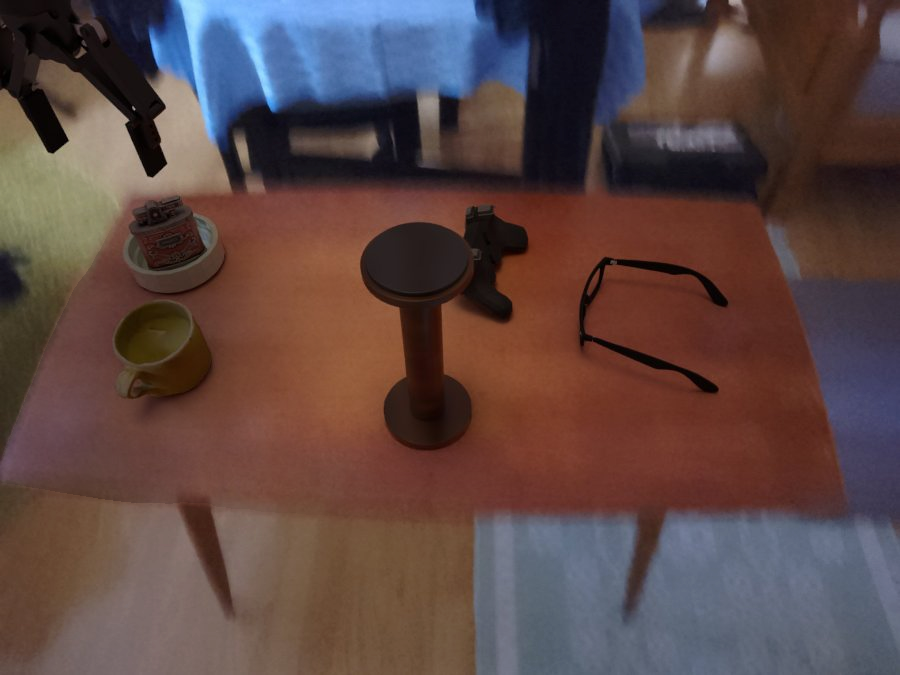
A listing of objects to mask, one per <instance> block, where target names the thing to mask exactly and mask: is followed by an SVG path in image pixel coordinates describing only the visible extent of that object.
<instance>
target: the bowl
mask: <svg viewBox="0 0 900 675" xmlns="http://www.w3.org/2000/svg"><path fill="white" fill-rule="evenodd" d="M193 218H194V221H195V223H196V226H197V229H198V231H199V234H200V236H201V239H202V241H203V244H205V246H206V248H207V251H206V252H205V253H204V254H203V255H202V256H201V257H200V258H198V259H197V260H196V261H194V262H192V263H190V264H188V265H186V266H184V267H180V268H177V269H173V270H168V271H152V270H149V268H148V266H147V261H146V259H145V257H144V255H143V253H142V251H141V249H140V247H139V245H138V243H137V241H136V239H135V237H134V236H133V235H132V234H131V233H130V234H129V235H128V237H127V238H126V239H125V241H124V244H123V246H122V256H123V261H124V263H125V264H126V267H127V268H128V270H129V272H130V274H131V276H132V278H133V279H134V281H136V283H137V285H139V286H140V287H141V288H144V289H146V290H147V291H150V292H155V293H161V294H173V293H179V292H180V293H181V292H185V291H188V290H191V289H195V288H196V287H198V286H200V285H203V284H204V283H206V282H207V281H208V280H209V279H211V278H212V277H213V276H214V275H215V274H216V273H218V271H219V269H220V267H221V266H222V265H223V263H224V260H225V254H226V253H225V252H226V251H225V247H224V245H223V242H222V238H221V236H220V234H219V231H218V228H217V225H216V224H215V223H214V222H213V221H212V220H211V219H210V218H209V217H206V216H205V215H202V214H199V213H196V212H193Z"/></svg>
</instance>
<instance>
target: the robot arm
mask: <svg viewBox="0 0 900 675" xmlns="http://www.w3.org/2000/svg"><path fill="white" fill-rule="evenodd" d="M82 49H83V50H84V51H85V53H83V54H81V51H82ZM80 54H81V55H80ZM79 55H80V56H79ZM78 56H79V57H78ZM41 60H42V61H53V62H55V63H58V64H61V65H65V66H66V67H67V68H68V69H69V70H70V71H71V72H73V73H79V74H81V76H83V78H84V79H86V80H87V81H88V82H89V83H90V84H91V85H92V86H93V87H94V88H95V89H96V90H97V91H98V92H99V93H100V94H101V95H102V96H103V97H104V98H106V100H108V101H109V102H110V103H111V105H113V107H115V108H116V109H117V110H118V111H119V113H121V114H122V115H123V116H124V117H125V119H127V120H128V121H126V122H125V123H124V126H125V128H126V131H127V133H128V136H129V137H130V138H129V139H130V140H131V142H132V145H133V147H134V149H135V152H136V154H137V156H138V158H139V161H140V163H141V166H142V168H143V170H144V172H145V175H146V177H147V178H152V179H153V178H155V177H156V176H157V175H158V174H159V173H160V172H161V171H162V170H163V169H164V168H165V167H166V166H167V165H168V161H167V158H166V156H165V153H164V151H163V149H162V146H161V144H162V137H161V135H160V132H159V129H158V127H157V124H156V122H155V120H156V118H158V117H159V116H160V115H161V114H163V112H164V111H165V110H166V108H167V106H166V104H165V102H164V101H163V99H162V98H161V97H160V96H159V94H158V93H157V92H156V90H155V89H154V88H153V86H152V85H151V84H150V82H148V80H147V79H146V77H145V76H144V74H143V73H142V72H141V70H139V68H138V67H137V66H136V64H135V63H134V62H133V60H132V59H131V57H130V56H129V55H128V53H127V52H126V51H125V49H124V48H123V47H122V46H121V45H120V43H119V42H118V41H117V39H116V37H115V35H114V33H113V31H112V28H111V27H110V25H109V23H108V21H107V20H106V18H105V17H104V16H102V15H96V16H94V17H93V18H91V19H81V18H80V16H78V15H77V13H76V11H75V10H74V8H73V6H72V0H0V91H2V90H6V91H7V92H8V95H10V96H11V97H12V98H13V99H16V101H17V102H18V104H19V106H20V108H21V109H22V111H23V113H24V115H25V117H26V118H27V119H28V121H29V122H30V123H31V125H32V127H33V129H34V130H35V132H36V134H37V136H38V137H39V139H40V141H41V143H42V145H43V146H44V148H45V150H46V152H47V154H48V153H49V154H51V155H54V154H55V153H57V151H59V150H60V149H61V148H62V147H64V146H65V145H66V144H67V143H69V142H70V139H69V138H68V136H67V134H66V131H65V130H64V127H63V126H62V124H61V122H60V120H59V117H58V116H57V114H56V112H55V111H54V109H53V107H52V105H51V103H50V100H49V98H48V96H47V95H46V92H45V91H44V89H42V88H38V87H37V88H35V87H36V86H37V85H39V84H40V82H39V81H37V77H38V72H39V68H40V65H41ZM33 88H35V89H33Z"/></svg>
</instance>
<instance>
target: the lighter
mask: <svg viewBox="0 0 900 675" xmlns="http://www.w3.org/2000/svg"><path fill="white" fill-rule="evenodd" d="M131 213H132V215H133V217H134V220H132V221H131V222H130V223H129V224H128V230H129V232H130V234H132V235H133V236H134V237H135V239H136V241H137V243H138V245H139V247H140V249H141V251H142V253H143V255H144V257H145V259H146V261H147V266H148V268H149V270H152V271H168V270H173V269H177V268H180V267H184V266H186V265H188V264H190V263H192V262H194V261H196V260H197V259H198V258H200V257H201V256H202V255H203V254H204V253H205V252H206V251H207V248H206V246H205V244H203V241H202V239H201V236H200V234H199V231H198V229H197V226H196V223H195V221H194V218H193V213H194V212H193V210H192V208H191V207H190V206H189V205H185V204H184V202H183V200H182V197H181V195H179V194H175V195H172V196H168V197H165V198H162V199H160V200H157V201H156V200H155V199H149V200H147V201H145V204H144V205H142V206H138V207H136V208H133V209H132V210H131Z"/></svg>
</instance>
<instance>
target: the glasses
mask: <svg viewBox="0 0 900 675" xmlns="http://www.w3.org/2000/svg"><path fill="white" fill-rule="evenodd" d="M615 265H616V266H621V267H627V268H628V267H629V268H634V269H635V268H636V269H638V270H639V269H641V270H645V271H652V272H657V273H663V274H667V275H671V276H680V275H688V276H693V277H695V278H696V279H697V280H698V281H699V282H700V283H701V284H702V286H703V288H704V289H705V291H706V292H707V294H708V296H709V298H710V299H711V301H712V302H713V303H714V304H715V305H718V306H720V307H727V306H728V305H729V300H728V299H727V297H726V296H725V295H724V294H723V292H722V291H720V289H719V288H718V287H717V285H716V284H715V283H714V282H713V281H712V280H711V279H710V278H708V277H707V276H706V275H704V274H702V273H701V272H699V271H697V270H694V269H692V268H690V267H686V266H684V265H679V264H674V263H667V262H661V261H654V260H653V261H651V260H641V259H640V260H639V259H628V258H627V259H625V258H614V257H610V256H604V257H603V258H602V259H601V260H600V261H599V262H598V263H597V264H596V265H595V267H594V268H593V270H592V271H591V272H590V274H589V276H588V278H587V280H586V282H585V284H584V288H583V290H582V294H581V298H580V300H579V310H578V322H579V346H580V347H584V346H585V342H590V343H594V344H597V345H599V346H601V347H604V348H606V349H608V350H609V351H612V352H614V353H617V354H618V355H622V356H624V357H626V358H628V359H631V360H632V361H635V362H638V363H640V364H642V365H645V366H647V367H649V368H651V369H655V370H662V371H672V372H673V371H674V372H676V373H680V374H681V375H683V376H685V377H686V378H687V379H688V380H689V381H691V382H692V383H693V384H694V385H695V387H697V388H698V389H700V390H701V391H704V392H706V393H712V394H713V393H714V394H715V393H718V392H719V390H720V388H719V387H718V385H717V384H715V383H714V382H712V381H711V380H709V379H707V378H706V377H705V376H702V375H700V374H699V373H697V372H695V371H692V370H690V369H687V368H686V367H685V368H684V367H683V366H679V365H676V364H674V363H671V362H668V361H666V360H663V359H661V358H658V357H655V356H652V355H650V354H647V353H644V352H641V351H639V350H636V349H633V348H630V347H626V346H624V345H620V344H617V343H614V342H611V341H609V340H608V341H607V340H605V339H602V338H599V337H597V336H595V335H591V334H588V333H586V330H585V318H586V315H587V306H588V305H590V304H591V303H592V301H593V300H594V298H595V297H596V295H597V294H598V291H599V290H600V288H601V285H602V282H603V279H604V275H605V271H606V270H605V269H606V266H611V267H612V266H615ZM598 271H599V272H598ZM597 272H598V279H597V282H596V284H595V287H594V289H593V290H592V292H591V294H588V290H589V288H590V285H591V283H592V281H593V279H594V276H595V275H596V273H597Z"/></svg>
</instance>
